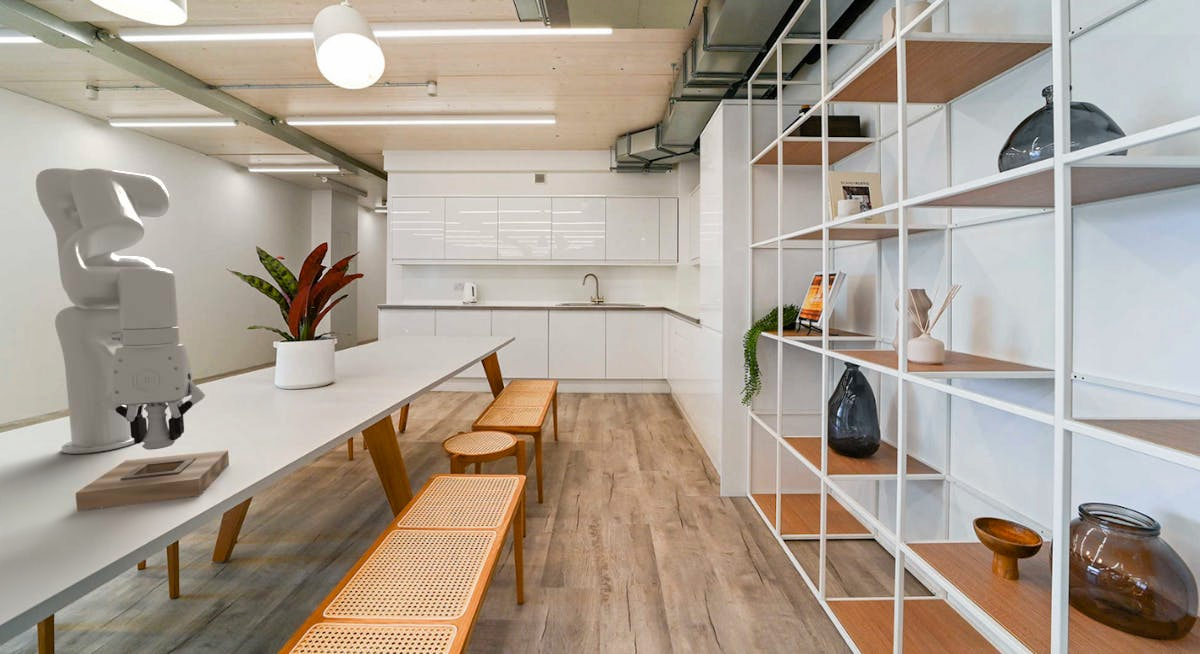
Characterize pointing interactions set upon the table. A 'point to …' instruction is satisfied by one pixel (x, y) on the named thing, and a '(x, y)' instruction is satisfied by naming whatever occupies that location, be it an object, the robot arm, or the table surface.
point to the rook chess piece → (157, 427)
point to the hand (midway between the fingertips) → (158, 438)
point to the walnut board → (153, 480)
